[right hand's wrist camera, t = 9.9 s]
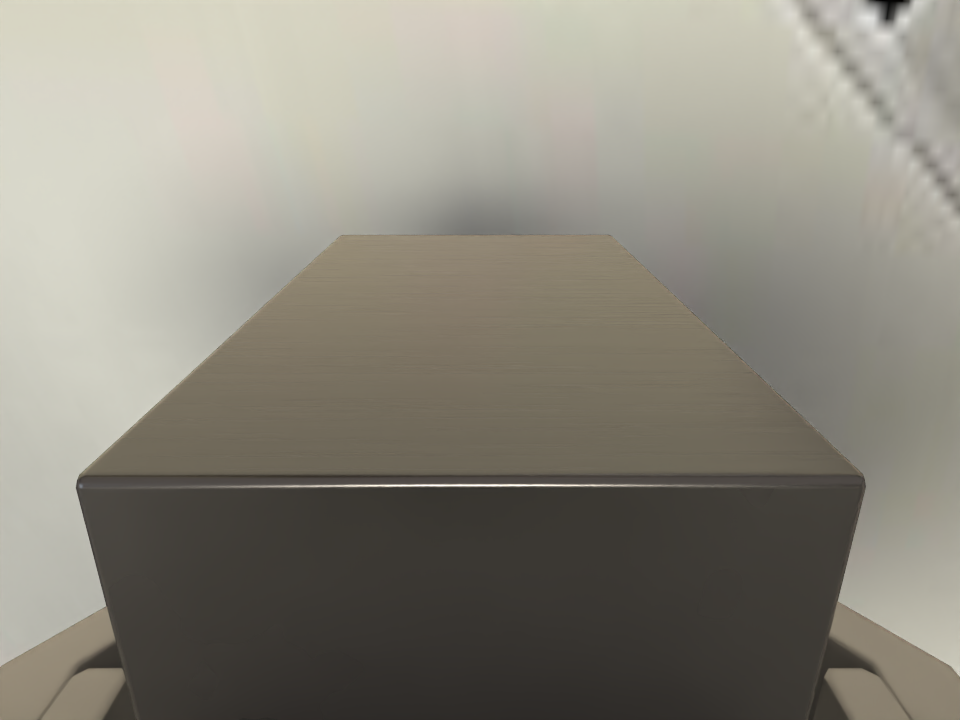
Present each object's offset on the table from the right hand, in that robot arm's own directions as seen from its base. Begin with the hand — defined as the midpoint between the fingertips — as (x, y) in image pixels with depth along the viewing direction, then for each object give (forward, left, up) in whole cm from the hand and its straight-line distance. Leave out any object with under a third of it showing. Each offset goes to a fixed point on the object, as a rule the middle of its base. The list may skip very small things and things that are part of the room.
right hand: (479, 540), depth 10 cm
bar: (-1, +9, -3) cm, 9 cm away
